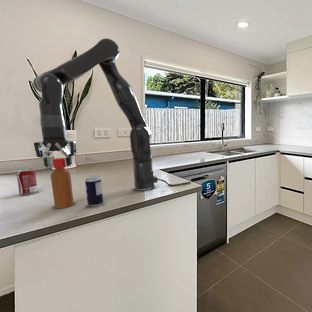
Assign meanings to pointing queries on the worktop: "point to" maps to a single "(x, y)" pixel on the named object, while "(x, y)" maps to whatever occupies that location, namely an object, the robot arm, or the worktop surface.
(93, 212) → the worktop surface
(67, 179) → the sauce bottle
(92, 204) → the beverage can
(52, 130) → the robot arm
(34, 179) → the red food package
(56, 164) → the cap
